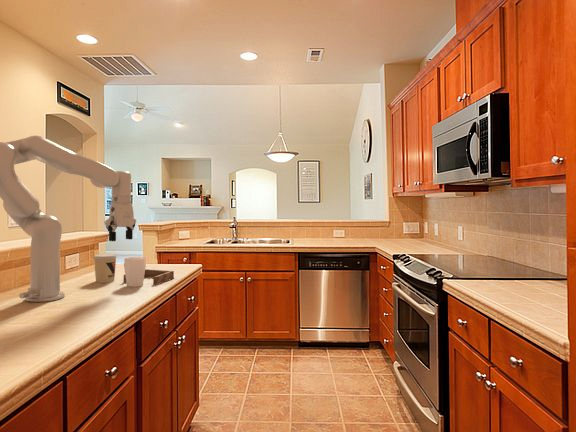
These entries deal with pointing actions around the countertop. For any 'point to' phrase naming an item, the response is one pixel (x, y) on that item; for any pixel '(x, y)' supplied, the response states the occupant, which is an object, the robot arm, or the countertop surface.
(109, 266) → the coffee cup
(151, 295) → the countertop surface
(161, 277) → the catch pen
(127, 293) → the countertop surface
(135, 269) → the cup
